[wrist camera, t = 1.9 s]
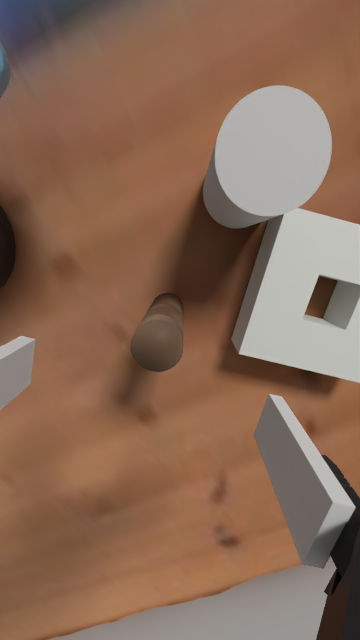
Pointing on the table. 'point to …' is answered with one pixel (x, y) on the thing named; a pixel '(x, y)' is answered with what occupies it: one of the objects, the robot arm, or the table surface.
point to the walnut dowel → (160, 335)
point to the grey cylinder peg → (267, 157)
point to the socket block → (304, 296)
